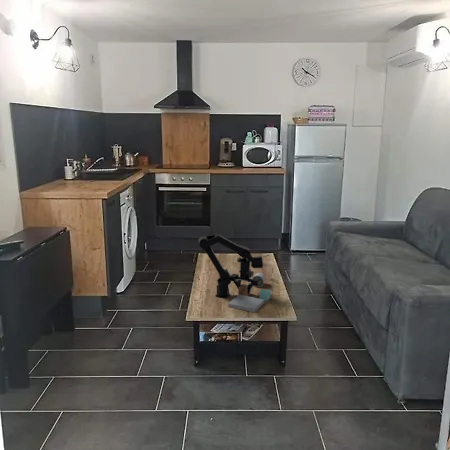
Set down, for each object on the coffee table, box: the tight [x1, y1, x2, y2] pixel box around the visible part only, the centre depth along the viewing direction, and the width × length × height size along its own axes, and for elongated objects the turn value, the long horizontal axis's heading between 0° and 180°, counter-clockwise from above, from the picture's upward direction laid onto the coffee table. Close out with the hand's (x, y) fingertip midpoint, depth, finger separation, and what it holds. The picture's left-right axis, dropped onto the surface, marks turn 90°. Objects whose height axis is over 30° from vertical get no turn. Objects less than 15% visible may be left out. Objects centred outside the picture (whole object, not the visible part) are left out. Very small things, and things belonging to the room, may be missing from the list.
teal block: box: [258, 288, 271, 302], centre depth 258 cm, size 5×5×5 cm
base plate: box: [227, 295, 265, 313], centre depth 250 cm, size 16×14×2 cm
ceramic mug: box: [247, 272, 266, 288], centre depth 278 cm, size 11×8×8 cm
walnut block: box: [237, 283, 252, 297], centre depth 263 cm, size 6×6×6 cm
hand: (244, 293), depth 264 cm, fingers closed on walnut block, 5 cm apart
